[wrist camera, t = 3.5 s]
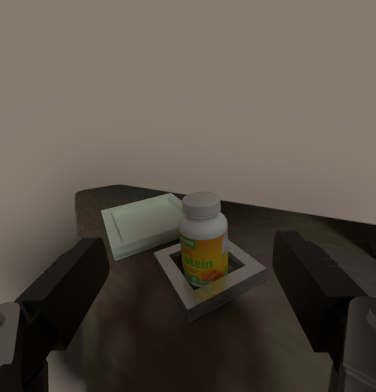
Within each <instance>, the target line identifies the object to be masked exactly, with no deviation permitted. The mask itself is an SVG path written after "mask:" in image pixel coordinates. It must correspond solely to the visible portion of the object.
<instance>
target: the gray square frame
mask: <svg viewBox="0 0 376 392" xmlns="http://www.w3.org/2000/svg"><path fill="white" fill-rule="evenodd" d="M154 258H155V263H156V266H157V267H158V269H159V271H160V273H161V274H162V276H163V278H164V280H165V282H166V283H167V285H168V287H169V289H170V290H171V292H172V294H173V296H174V298H175V299H176V301H177V303H178V305H179V306H180V308H181V310H182V312H183V314H184V315H185V317H186V319H187V321H188V322H189V324H190V323H192V322H193V321H195V320H197V319H199V318H201V317H202V316H204V315H206V314H208V313H209V312H211V311H213V310H215V309H217V308H218V307H220V306H222V305H224V304H225V303H227V302H229V301H231V300H233V299H234V298H236V297H238V296H240V295H241V294H243V293H245V292H247V291H249V290H250V289H252V288H254V287H256V286H258V285H259V284H261V283H263V282H265V280H266V268H265V267H264V266H263V265H261V264H260V263H259V262H257V261H256V260H255V259H253V258H252V257H251V256H249V255H248V254H247V253H245V252H244V251H243V250H241V249H240V248H239V247H237V246H236V245H235V244H233V243H232V242H231V241H229V240H228V263H229V264H231V265H232V266H233V267H234V268H235V269H236V270H235V271H233V272H231V273H229V274H227V275H225V276H223V277H221V278H219V279H217V280H215V281H213V282H211V283H209V284H207V285H205V286H203V287H201V288H199V289H197V290H195V291H194V290H193V288H192V287H191V286H190V284H189V283H188V281H187V280H186V279H185V277H184V276H183V274H182V273H181V271H180V270H179V269H178V267H177V266H176V264H177V263H180V262H182V254H181V245H180V243H179V244H176V245H173V246H171V247H168V248H165V249H162V250H160V251H157V252H154Z"/></svg>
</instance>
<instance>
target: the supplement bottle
mask: <svg viewBox="0 0 376 392" xmlns="http://www.w3.org/2000/svg"><path fill="white" fill-rule="evenodd" d="M182 206H183V213H184V215H183V216H182V217H181V218H180V220H179V224H178V227H179V237H180V245H181V254H182V263H183V271H184V276H185V278H186V279H187V281H188V282H189V283H191V284H192V285H194V286H197V287H203V286H205V285H207V284H209V283H211V282H213V281H215V280H217V279H219V278H221V277H223V276H225V275H227V274H228V225H227V219H226V217H225V216H224V215H223V214H222V213H221V212H220V209H221V204H220V197H219V196H218V195H217V194H215V193H211V192H196V193H191V194H189V195H186V196H185V197H184V198H183V199H182Z"/></svg>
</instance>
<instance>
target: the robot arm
mask: <svg viewBox="0 0 376 392" xmlns="http://www.w3.org/2000/svg"><path fill="white" fill-rule="evenodd" d="M370 248H371V250H372V252H373V253H374V254H375V256H376V227H375V230H374V234H373V237H372V240H371V244H370ZM272 262H273V269H274V272H275V275H276V277H277V279H278V281H279V283H280V285H281V287H282V289H283V291H284V293H285V295H286V297H287V299H288V301H289V303H290V305H291V307H292V309H293V311H294V313H295V315H296V317H297V319H298V321H299V323H300V325H301V327H302V329H303V330H304V332H305V334H306V336H307V338H308V340H309V342H310V344H311V346H312V348H313V350H314V352H328V353H329V355H330V357H331V359H332V360H333V364H332V368H331V375H330V381H329V388H328V392H376V298H372V297H369V296H368V295H367V294H366V293H365V292H364V291H363V290H362V289H361V288H360V287H359V286H358V285H357V284H356V283H355V282H354V281H353V280H352V279H351V278H350V277H349V276H348V275H347V274H346V273H345V271H344V270H343V269H342V268H341V267H338V264H337V263H336V262H335V261H334V260H333V259H331V258H330V256H329V255H328V254H327V253H326V252H325V251H324V250H323V249H322V248H321V247H319V246H317V245H316V244H314V243H312V242H310V241H305V240H304V239H303V238H302V237H301V236H300V235H299V233H298V232H297V231H295V230H282V231H276V232H275V237H274V248H273V260H272ZM109 269H110V266H109V261H108V257H107V253H106V249H105V245H104V242H103V239H102V238H100V237H92V238H83V239H81V240H80V241H79V242H78V243H77V244H76V245H75V246H74V248H73V249H71V250H69V251H68V252H66V253H65V254H63V255H61V256H60V257H59V258H58V259H57V260H56V261H55V262H54V263H53V264H52V266H50V267H49V268H48V269H47V270H46V271H45V272H44V274H41V276H40V277H39V278H37V279H36V280H35V282H33V284H31V285H30V286H29V287H28V288H27V289H26V290H25V291H24V292H23V293H22V294H21V295H20V296H19V297H18V298H17V299H16V300H15V301H14V302H7V303H3V304H0V392H48V362H47V360H46V358H47V356H48V354H49V353H50V351H52V350H53V351H54V350H56V351H57V350H58V351H60V350H61V351H62V350H63V351H65V350H66V348H67V347H68V345H69V343H70V341H71V340H72V338H73V336H74V335H75V333H76V331H77V329H78V327H79V326H80V324H81V322H82V321H83V319H84V317H85V315H86V314H87V312H88V310H89V309H90V307H91V305H92V303H93V302H94V300H95V298H96V296H97V295H98V293H99V291H100V290H101V288H102V286H103V284H104V283H105V281H106V279H107V277H108V275H109Z"/></svg>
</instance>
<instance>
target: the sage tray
mask: <svg viewBox="0 0 376 392" xmlns="http://www.w3.org/2000/svg"><path fill="white" fill-rule="evenodd" d="M101 212H102V216H103V219H104V223H105V227H106V231H107V234H108V238H109V242H110V246H111V249H112V253H113V257H114V260H115V261H117V260H120V259H123V258H126V257H128V256H131V255H134V254H137V253H140V252H142V251H145V250H148V249H151V248H154V247H156V246H159V245H162V244H165V243H168V242H170V241H173V240H176V239H179V238H180V237H179V227H178V224H179V220H180V218H181V217H182V216H183V215H184V213H183V206H182V201H181V200H180V199H178V198H177V197H175V196H174V195H173V194H171V193H169V194H165V195H161V196H157V197H154V198H150V199H146V200H142V201H138V202H134V203H130V204H126V205H122V206H118V207H114V208H110V209H106V210H102V211H101Z"/></svg>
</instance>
